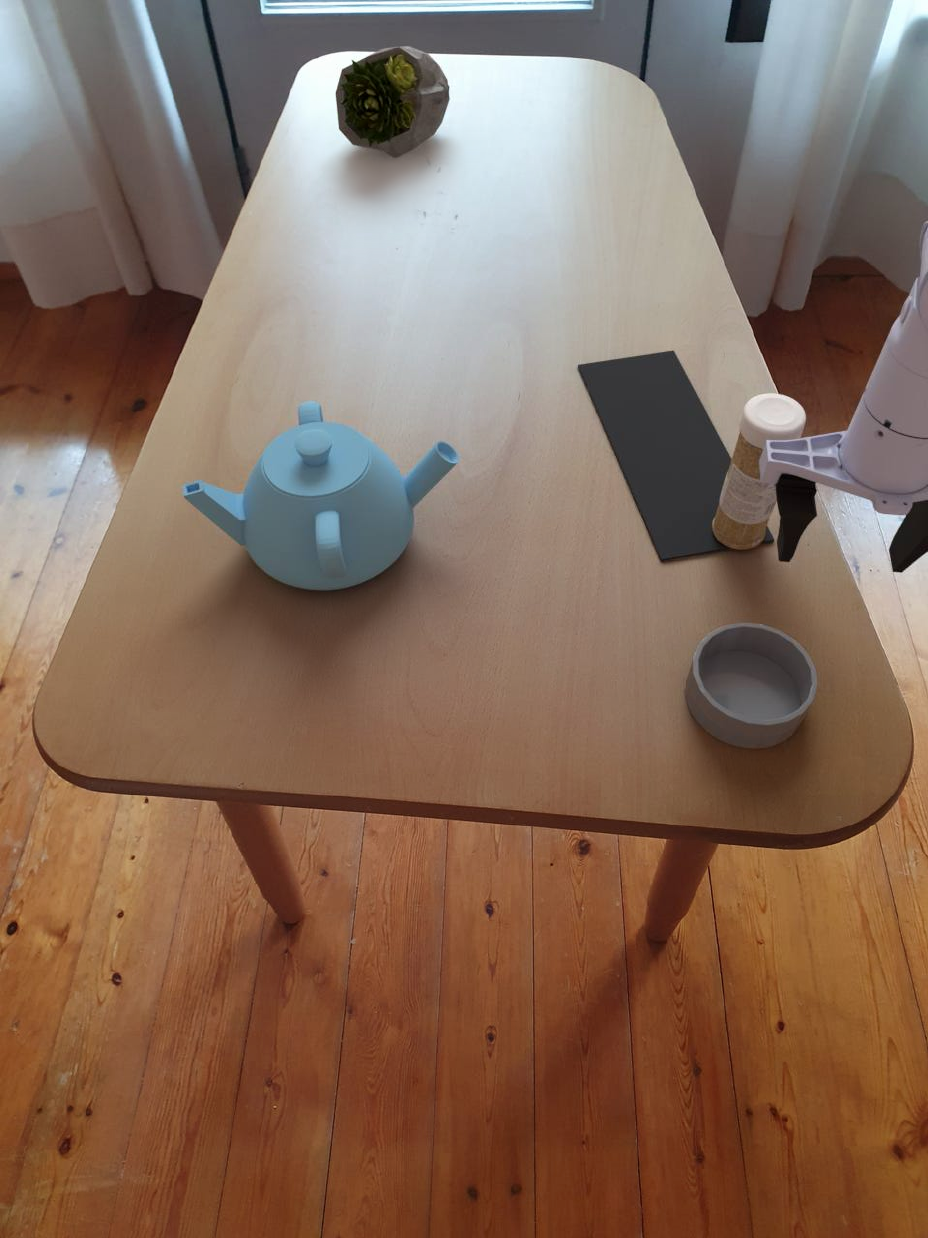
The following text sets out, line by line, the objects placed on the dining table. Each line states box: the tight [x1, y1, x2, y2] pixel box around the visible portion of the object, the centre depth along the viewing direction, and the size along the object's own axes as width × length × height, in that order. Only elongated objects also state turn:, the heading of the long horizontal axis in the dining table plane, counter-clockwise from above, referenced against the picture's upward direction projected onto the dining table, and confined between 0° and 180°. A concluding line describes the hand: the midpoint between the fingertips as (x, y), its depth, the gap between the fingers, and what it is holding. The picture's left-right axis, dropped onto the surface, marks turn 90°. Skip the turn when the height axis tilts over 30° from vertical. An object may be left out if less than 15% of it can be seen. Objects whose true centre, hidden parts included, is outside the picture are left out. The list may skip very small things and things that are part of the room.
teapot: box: [181, 400, 460, 591], centre depth 77 cm, size 15×17×11 cm
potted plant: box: [335, 45, 451, 159], centre depth 116 cm, size 12×13×15 cm
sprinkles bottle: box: [712, 392, 807, 551], centre depth 75 cm, size 5×5×13 cm
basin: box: [684, 622, 819, 750], centre depth 70 cm, size 9×9×4 cm
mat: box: [577, 350, 775, 562], centre depth 87 cm, size 26×10×1 cm, turn 11°
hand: (839, 556), depth 66 cm, fingers open, 7 cm apart
